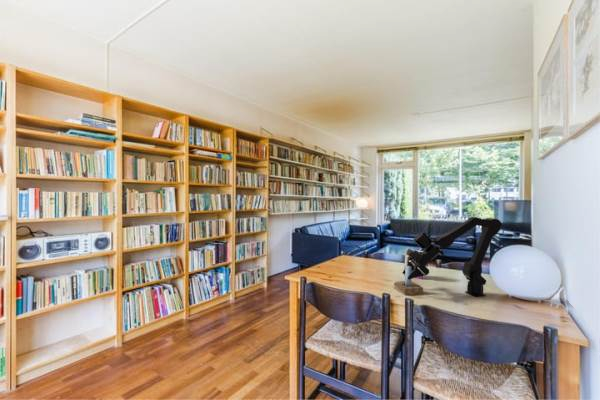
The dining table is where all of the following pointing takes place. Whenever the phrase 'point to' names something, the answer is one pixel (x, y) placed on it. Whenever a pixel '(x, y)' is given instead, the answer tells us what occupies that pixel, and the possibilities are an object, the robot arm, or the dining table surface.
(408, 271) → the peg
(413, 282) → the mat
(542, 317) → the dining table surface
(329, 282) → the dining table surface
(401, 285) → the hole block
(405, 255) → the candy bar box
